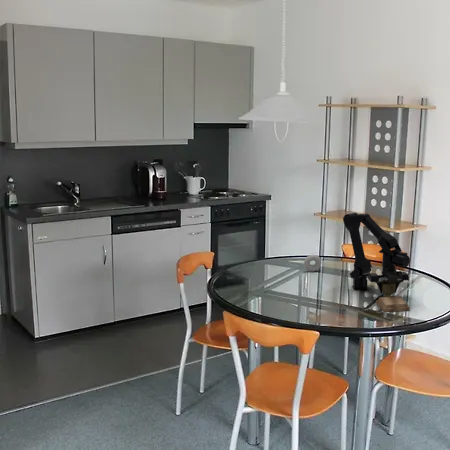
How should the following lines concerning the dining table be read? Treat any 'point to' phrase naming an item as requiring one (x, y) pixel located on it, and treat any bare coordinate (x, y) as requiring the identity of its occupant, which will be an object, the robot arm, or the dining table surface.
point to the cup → (388, 288)
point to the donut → (309, 259)
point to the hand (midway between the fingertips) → (387, 293)
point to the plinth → (392, 304)
